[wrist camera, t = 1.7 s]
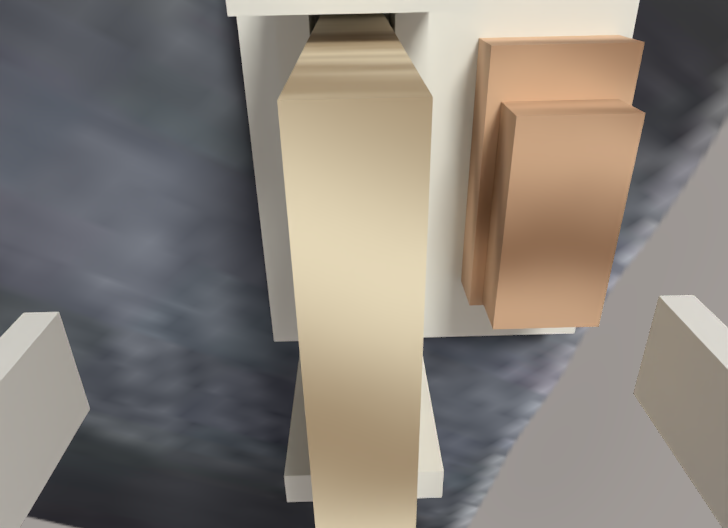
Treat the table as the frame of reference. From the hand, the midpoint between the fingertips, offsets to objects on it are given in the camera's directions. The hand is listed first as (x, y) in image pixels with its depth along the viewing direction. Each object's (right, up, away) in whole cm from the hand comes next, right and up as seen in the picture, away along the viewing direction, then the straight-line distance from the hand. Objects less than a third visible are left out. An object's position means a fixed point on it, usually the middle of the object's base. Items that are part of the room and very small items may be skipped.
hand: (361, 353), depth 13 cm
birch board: (0, +6, +10) cm, 11 cm away
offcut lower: (+7, +6, +10) cm, 13 cm away
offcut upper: (+7, +4, +8) cm, 11 cm away
